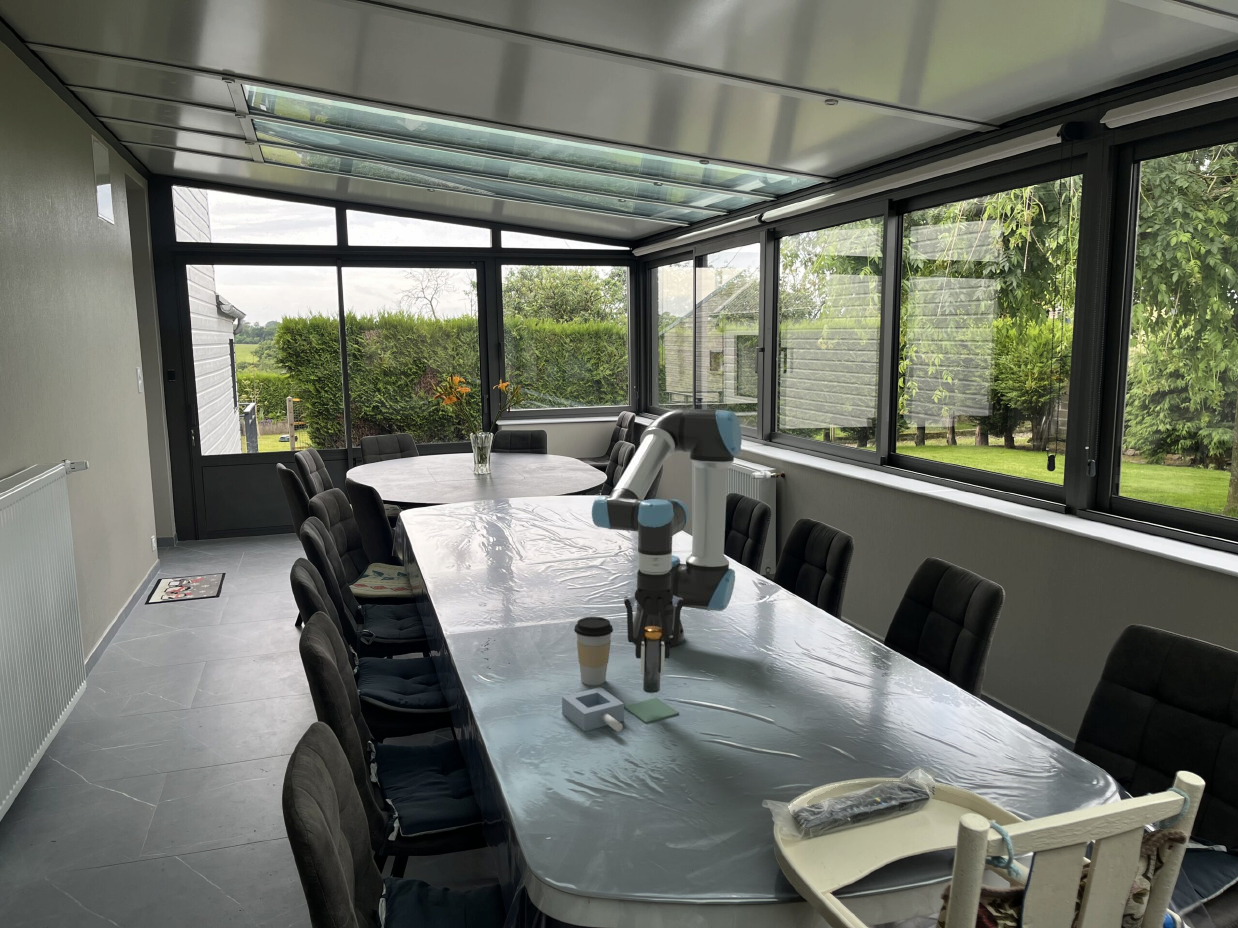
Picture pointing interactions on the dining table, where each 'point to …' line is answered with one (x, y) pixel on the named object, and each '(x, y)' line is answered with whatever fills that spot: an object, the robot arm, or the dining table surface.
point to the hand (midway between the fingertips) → (651, 671)
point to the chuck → (593, 709)
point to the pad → (651, 710)
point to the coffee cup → (593, 648)
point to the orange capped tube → (652, 659)
